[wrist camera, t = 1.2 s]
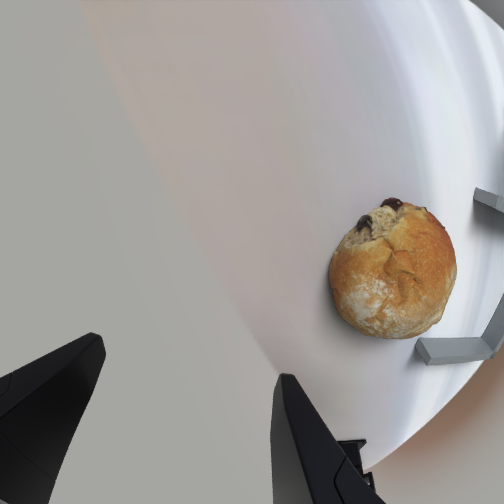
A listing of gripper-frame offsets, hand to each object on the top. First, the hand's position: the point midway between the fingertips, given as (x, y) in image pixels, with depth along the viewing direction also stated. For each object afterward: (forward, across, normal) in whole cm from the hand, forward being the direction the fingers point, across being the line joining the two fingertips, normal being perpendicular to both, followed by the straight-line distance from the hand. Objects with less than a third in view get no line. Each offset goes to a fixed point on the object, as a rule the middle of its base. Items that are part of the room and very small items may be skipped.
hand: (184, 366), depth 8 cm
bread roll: (+12, -12, 0) cm, 17 cm away
